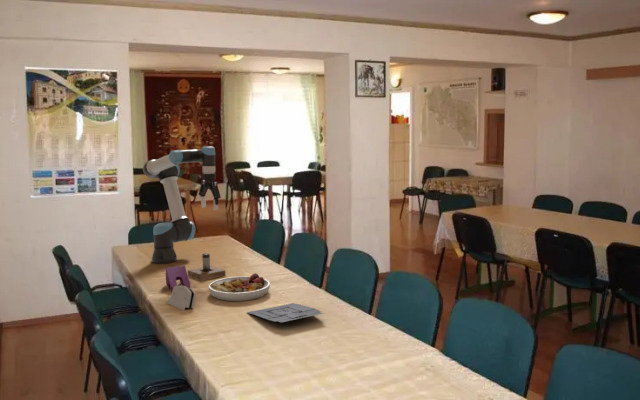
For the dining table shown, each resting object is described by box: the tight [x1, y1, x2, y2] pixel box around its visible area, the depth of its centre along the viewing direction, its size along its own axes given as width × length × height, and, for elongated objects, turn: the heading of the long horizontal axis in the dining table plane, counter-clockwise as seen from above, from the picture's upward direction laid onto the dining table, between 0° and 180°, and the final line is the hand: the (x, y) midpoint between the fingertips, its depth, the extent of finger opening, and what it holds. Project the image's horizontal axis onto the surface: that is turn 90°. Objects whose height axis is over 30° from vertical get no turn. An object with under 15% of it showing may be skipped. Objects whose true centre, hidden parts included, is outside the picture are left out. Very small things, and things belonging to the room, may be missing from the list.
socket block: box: [187, 265, 226, 281], centre depth 324 cm, size 15×15×3 cm
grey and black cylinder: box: [201, 253, 211, 272], centre depth 324 cm, size 4×4×12 cm
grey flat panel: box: [246, 302, 324, 323], centre depth 253 cm, size 24×30×4 cm
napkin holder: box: [166, 284, 197, 312], centre depth 272 cm, size 17×5×10 cm, turn 42°
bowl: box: [208, 272, 271, 302], centre depth 289 cm, size 30×30×8 cm
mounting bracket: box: [165, 265, 191, 292], centre depth 300 cm, size 10×9×19 cm
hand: (209, 208), depth 344 cm, fingers open, 13 cm apart
